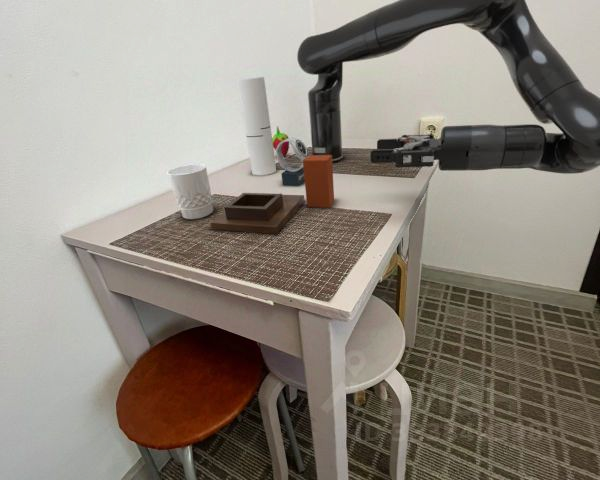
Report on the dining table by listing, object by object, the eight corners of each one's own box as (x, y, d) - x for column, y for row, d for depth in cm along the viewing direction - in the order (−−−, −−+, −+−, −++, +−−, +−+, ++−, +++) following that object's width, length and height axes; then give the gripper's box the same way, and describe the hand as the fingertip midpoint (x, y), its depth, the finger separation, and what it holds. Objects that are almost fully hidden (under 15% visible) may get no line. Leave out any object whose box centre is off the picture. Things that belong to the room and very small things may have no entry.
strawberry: (270, 159, 109) (266, 128, 105) (277, 154, 116) (273, 124, 111) (287, 159, 108) (283, 127, 103) (293, 153, 114) (290, 123, 109)
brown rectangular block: (312, 200, 73) (308, 155, 68) (334, 200, 71) (332, 154, 67) (306, 206, 70) (302, 160, 65) (329, 207, 68) (327, 160, 63)
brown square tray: (248, 199, 77) (245, 183, 75) (304, 201, 73) (303, 184, 71) (211, 229, 64) (207, 210, 62) (277, 234, 60) (274, 214, 58)
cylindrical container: (280, 170, 96) (268, 76, 85) (259, 176, 93) (244, 79, 81) (268, 166, 102) (256, 77, 90) (248, 172, 98) (232, 80, 87)
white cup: (178, 211, 75) (165, 168, 70) (212, 203, 77) (203, 161, 72) (181, 224, 68) (168, 177, 63) (219, 214, 71) (208, 169, 66)
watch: (305, 186, 82) (301, 141, 77) (276, 185, 85) (270, 141, 80) (313, 179, 86) (309, 136, 81) (285, 178, 89) (280, 136, 84)
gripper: (468, 118, 60) (379, 123, 66) (478, 133, 49) (368, 138, 54) (463, 159, 64) (378, 160, 69) (471, 182, 52) (368, 181, 57)
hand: (374, 150), depth 62 cm, fingers open, 8 cm apart
